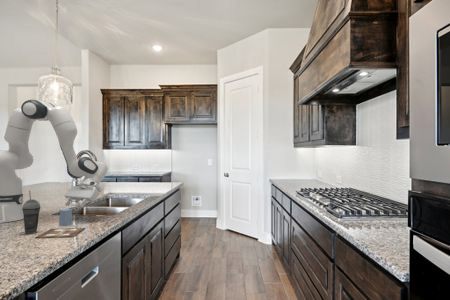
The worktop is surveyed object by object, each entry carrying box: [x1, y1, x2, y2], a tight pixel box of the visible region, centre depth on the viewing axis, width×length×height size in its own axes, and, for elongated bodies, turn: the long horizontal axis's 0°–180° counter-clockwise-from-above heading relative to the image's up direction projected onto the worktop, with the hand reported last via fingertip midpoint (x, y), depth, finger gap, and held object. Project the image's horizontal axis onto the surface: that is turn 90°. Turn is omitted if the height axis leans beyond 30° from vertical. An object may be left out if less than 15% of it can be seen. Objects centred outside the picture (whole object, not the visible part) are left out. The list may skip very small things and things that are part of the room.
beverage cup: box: [22, 190, 42, 235], centre depth 131 cm, size 7×7×20 cm
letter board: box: [34, 227, 86, 239], centre depth 130 cm, size 16×14×1 cm
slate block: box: [59, 208, 73, 227], centre depth 145 cm, size 4×4×8 cm
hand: (73, 205), depth 149 cm, fingers open, 8 cm apart
